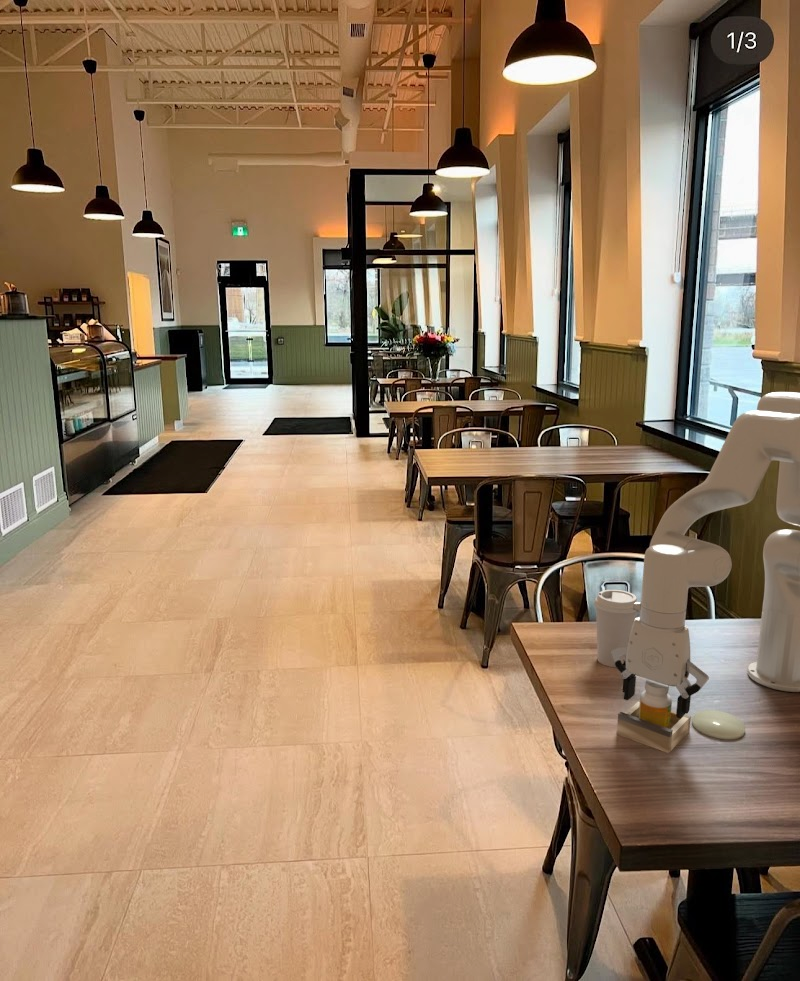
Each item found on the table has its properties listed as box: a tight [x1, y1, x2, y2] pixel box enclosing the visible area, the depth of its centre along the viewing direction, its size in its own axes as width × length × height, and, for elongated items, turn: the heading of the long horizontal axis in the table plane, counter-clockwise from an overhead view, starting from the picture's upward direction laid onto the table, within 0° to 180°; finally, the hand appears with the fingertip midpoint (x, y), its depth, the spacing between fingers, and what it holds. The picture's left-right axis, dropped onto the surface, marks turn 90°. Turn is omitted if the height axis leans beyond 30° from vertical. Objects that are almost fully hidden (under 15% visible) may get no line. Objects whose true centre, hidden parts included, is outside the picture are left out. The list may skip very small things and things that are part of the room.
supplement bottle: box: [639, 679, 673, 729], centre depth 137 cm, size 5×5×10 cm
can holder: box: [616, 699, 692, 754], centre depth 137 cm, size 10×10×4 cm
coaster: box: [691, 709, 746, 740], centre depth 140 cm, size 9×9×1 cm
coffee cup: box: [593, 589, 640, 668], centre depth 165 cm, size 10×10×15 cm
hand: (654, 706), depth 136 cm, fingers open, 9 cm apart
